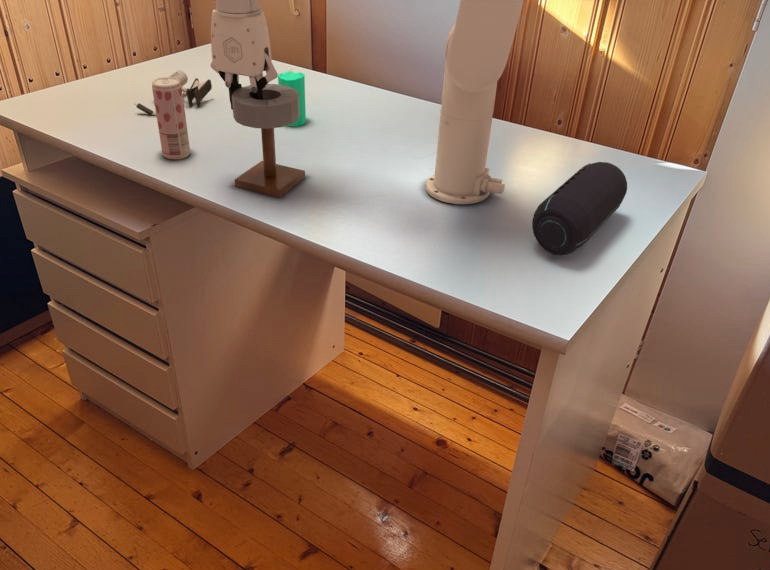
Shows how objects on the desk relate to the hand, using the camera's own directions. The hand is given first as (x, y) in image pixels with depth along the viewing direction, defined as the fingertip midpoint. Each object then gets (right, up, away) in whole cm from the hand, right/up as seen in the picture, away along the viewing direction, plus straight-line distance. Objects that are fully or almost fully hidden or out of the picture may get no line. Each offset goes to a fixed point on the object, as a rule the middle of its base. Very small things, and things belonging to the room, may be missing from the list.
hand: (247, 108), depth 133 cm
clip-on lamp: (-24, +14, +38) cm, 47 cm away
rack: (+3, -12, +7) cm, 14 cm away
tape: (+4, -2, -1) cm, 4 cm away
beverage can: (-18, -4, +16) cm, 24 cm away
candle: (+5, +8, +32) cm, 34 cm away
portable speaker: (+60, -24, -5) cm, 65 cm away
